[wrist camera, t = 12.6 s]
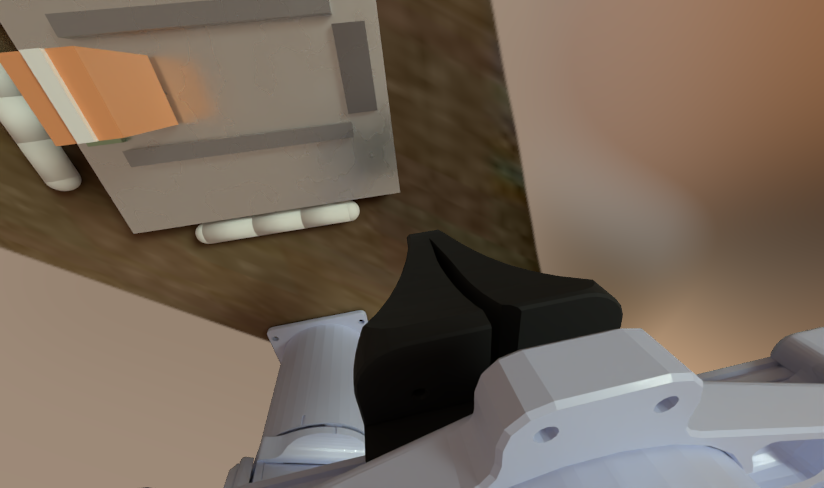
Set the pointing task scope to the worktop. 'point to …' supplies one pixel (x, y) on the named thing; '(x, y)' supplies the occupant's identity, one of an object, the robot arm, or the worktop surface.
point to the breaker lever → (89, 92)
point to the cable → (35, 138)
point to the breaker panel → (235, 103)
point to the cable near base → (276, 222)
